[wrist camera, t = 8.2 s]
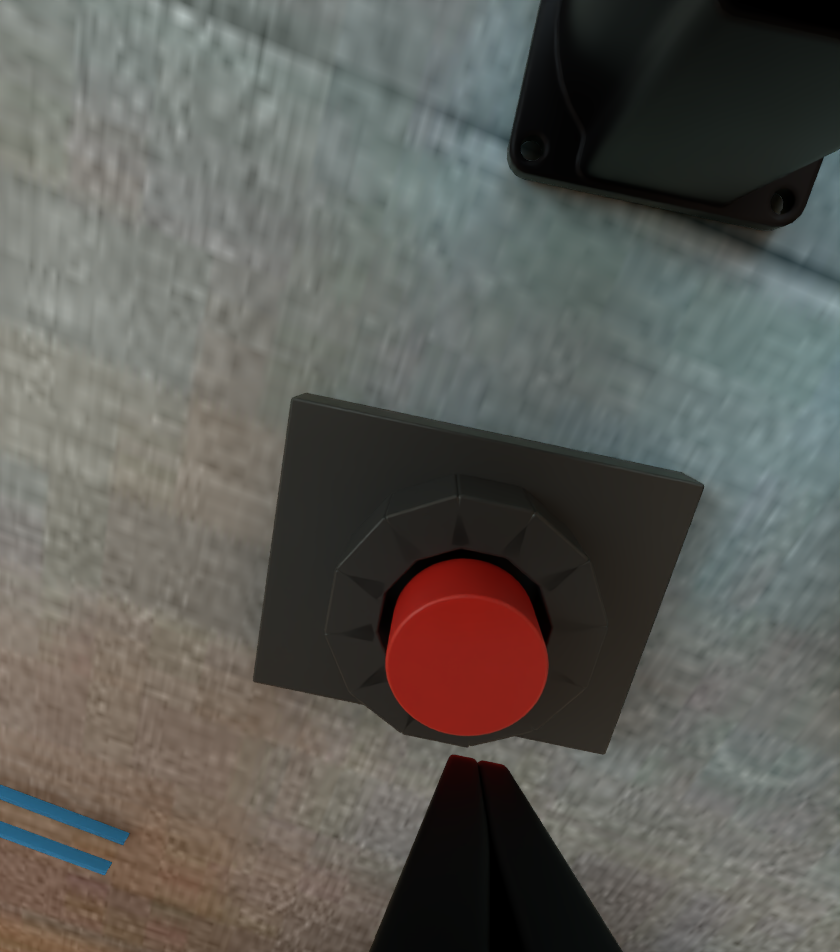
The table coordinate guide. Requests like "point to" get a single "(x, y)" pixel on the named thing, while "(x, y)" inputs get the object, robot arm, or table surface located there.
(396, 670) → the release button
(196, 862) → the table surface
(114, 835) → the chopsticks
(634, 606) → the block
